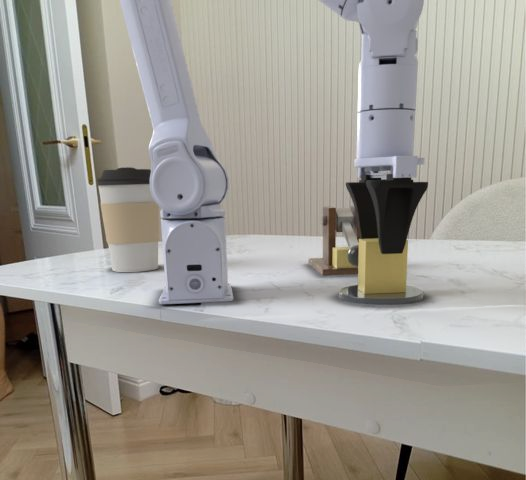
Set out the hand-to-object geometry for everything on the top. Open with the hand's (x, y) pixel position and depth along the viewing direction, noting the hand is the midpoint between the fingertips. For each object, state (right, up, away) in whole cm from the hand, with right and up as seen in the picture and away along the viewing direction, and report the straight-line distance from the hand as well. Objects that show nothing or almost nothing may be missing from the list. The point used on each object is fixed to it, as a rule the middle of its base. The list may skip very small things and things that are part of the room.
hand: (381, 249), depth 63 cm
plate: (0, -5, +1) cm, 5 cm away
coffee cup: (-32, +2, +28) cm, 43 cm away
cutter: (-1, +1, +22) cm, 22 cm away
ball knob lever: (-1, +3, +17) cm, 17 cm away
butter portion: (0, -4, +1) cm, 5 cm away
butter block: (-1, +1, +18) cm, 18 cm away
